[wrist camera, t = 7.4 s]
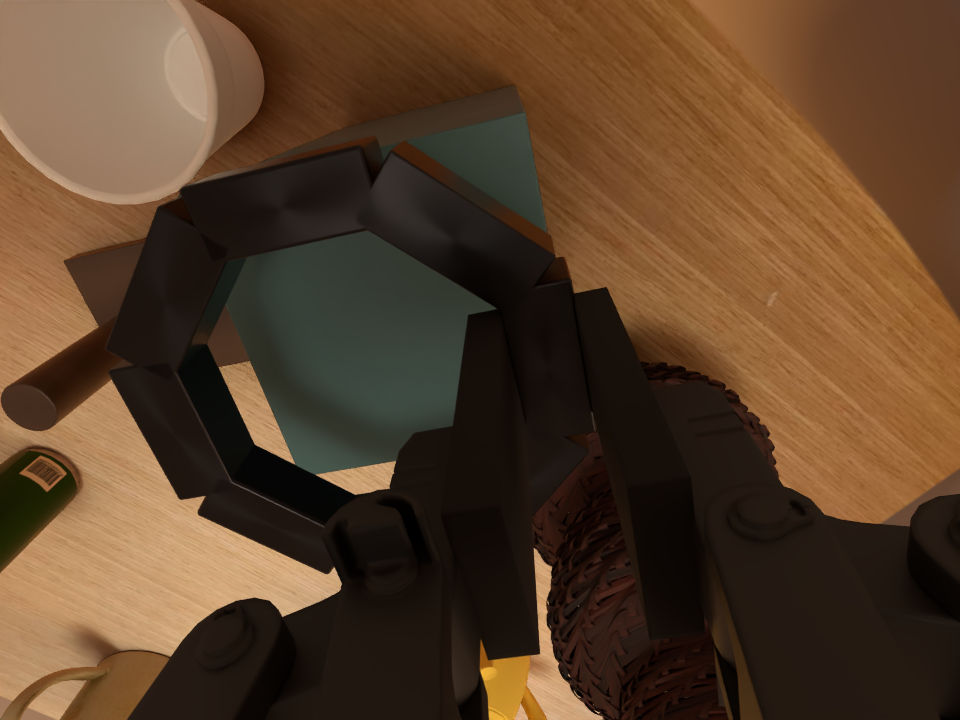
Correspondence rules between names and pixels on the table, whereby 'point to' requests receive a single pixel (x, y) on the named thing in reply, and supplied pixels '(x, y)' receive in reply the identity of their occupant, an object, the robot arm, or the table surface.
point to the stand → (378, 299)
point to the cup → (123, 91)
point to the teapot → (508, 687)
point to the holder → (95, 343)
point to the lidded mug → (99, 687)
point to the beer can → (31, 497)
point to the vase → (621, 594)
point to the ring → (307, 219)
